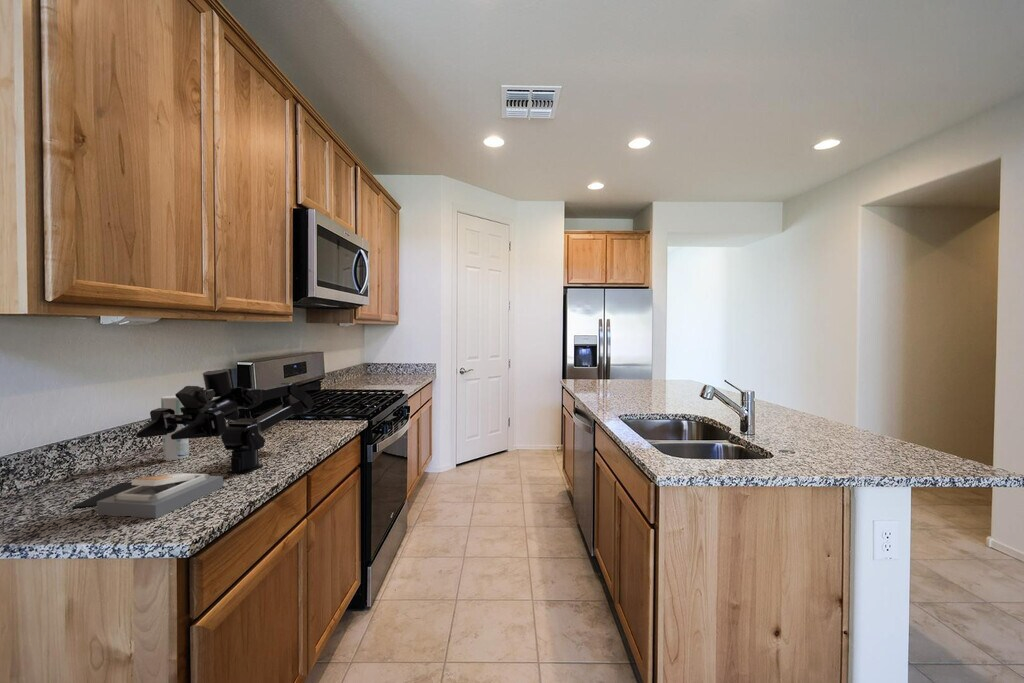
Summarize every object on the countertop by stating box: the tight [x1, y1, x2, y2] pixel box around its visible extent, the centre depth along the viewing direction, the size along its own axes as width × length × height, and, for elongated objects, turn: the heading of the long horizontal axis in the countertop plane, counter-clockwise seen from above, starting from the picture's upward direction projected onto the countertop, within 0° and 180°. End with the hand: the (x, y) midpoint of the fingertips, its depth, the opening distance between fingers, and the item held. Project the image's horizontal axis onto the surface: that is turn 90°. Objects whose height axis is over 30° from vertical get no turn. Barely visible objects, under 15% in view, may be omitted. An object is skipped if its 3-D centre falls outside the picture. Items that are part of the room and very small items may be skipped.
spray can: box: [160, 394, 190, 462], centre depth 126 cm, size 6×6×20 cm
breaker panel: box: [96, 472, 224, 520], centre depth 95 cm, size 17×15×4 cm
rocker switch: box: [131, 472, 196, 486], centre depth 95 cm, size 10×6×1 cm, turn 172°
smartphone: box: [71, 481, 140, 510], centre depth 98 cm, size 7×1×15 cm
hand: (154, 436), depth 90 cm, fingers open, 9 cm apart
